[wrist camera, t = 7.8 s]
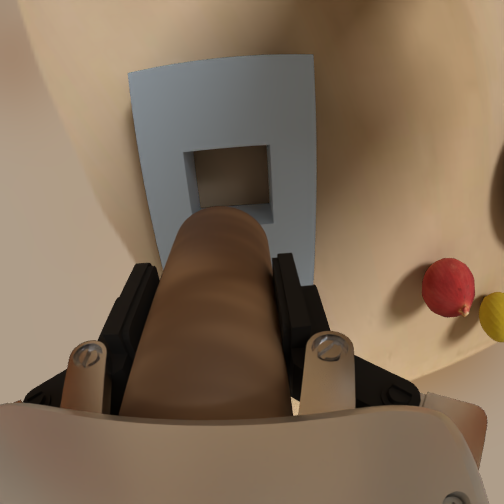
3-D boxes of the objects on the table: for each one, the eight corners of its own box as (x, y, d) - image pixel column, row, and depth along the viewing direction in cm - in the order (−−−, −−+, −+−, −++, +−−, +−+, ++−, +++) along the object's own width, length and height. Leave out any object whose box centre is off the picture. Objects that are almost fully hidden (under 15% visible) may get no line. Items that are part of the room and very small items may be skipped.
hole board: (302, 58, 20) (313, 54, 17) (305, 262, 30) (313, 287, 26) (145, 73, 21) (127, 73, 17) (177, 270, 30) (170, 297, 26)
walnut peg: (266, 202, 14) (303, 412, 5) (270, 284, 16) (294, 482, 7) (167, 211, 14) (81, 410, 5) (183, 290, 16) (147, 481, 7)
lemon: (492, 309, 35) (519, 347, 28) (464, 316, 35) (492, 358, 28) (503, 277, 32) (536, 315, 25) (476, 284, 32) (509, 325, 25)
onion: (459, 244, 29) (500, 286, 22) (444, 287, 32) (477, 333, 25) (418, 243, 29) (457, 291, 22) (404, 289, 32) (434, 340, 25)
